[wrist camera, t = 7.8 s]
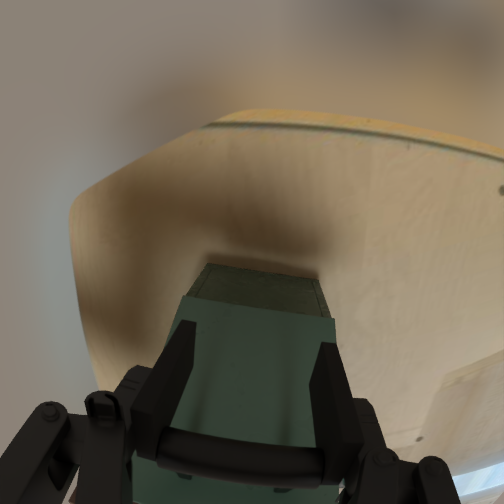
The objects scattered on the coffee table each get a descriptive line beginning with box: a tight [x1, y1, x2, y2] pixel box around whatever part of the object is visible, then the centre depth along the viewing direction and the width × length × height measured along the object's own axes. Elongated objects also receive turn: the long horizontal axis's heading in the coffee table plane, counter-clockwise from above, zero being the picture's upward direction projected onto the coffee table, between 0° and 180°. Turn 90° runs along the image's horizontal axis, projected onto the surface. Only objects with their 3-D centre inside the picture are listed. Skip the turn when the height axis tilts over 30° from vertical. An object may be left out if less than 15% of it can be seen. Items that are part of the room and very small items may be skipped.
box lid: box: [132, 296, 339, 504], centre depth 16 cm, size 15×12×7 cm
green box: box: [186, 263, 332, 318], centre depth 30 cm, size 15×12×9 cm
